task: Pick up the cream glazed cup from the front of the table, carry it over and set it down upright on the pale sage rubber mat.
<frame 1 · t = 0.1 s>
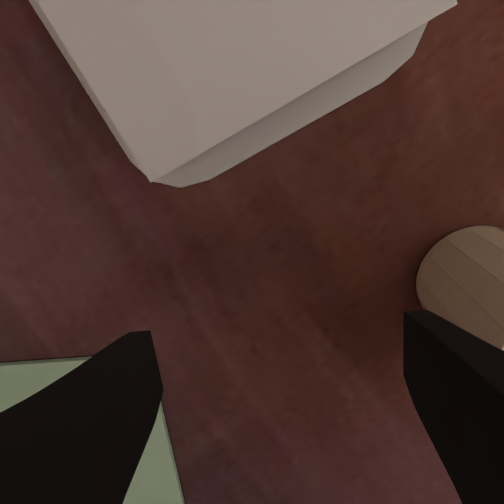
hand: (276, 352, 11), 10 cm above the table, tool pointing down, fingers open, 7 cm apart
mat: (79, 437, 26), on the table
cup: (473, 279, 21), on the table
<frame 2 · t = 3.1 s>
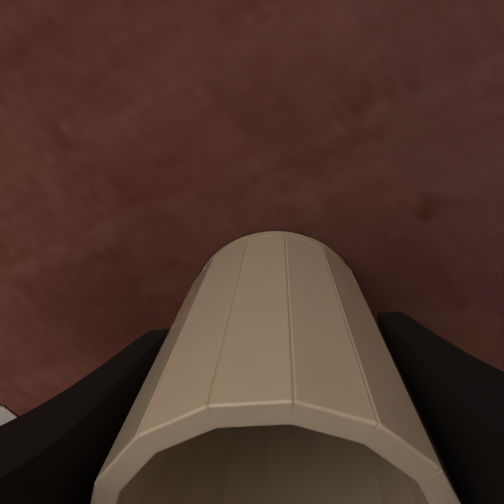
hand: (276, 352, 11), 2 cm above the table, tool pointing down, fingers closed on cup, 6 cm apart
cup: (275, 312, 14), on the table, touching gripper
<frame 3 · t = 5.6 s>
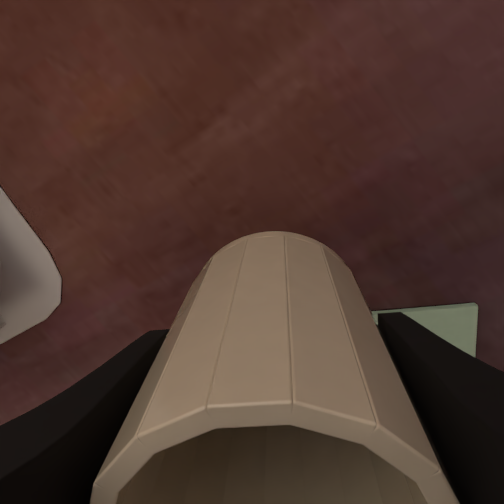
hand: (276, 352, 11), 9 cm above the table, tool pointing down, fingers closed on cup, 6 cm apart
mat: (360, 405, 23), on the table
cup: (275, 312, 14), point 7 cm above the table, touching gripper
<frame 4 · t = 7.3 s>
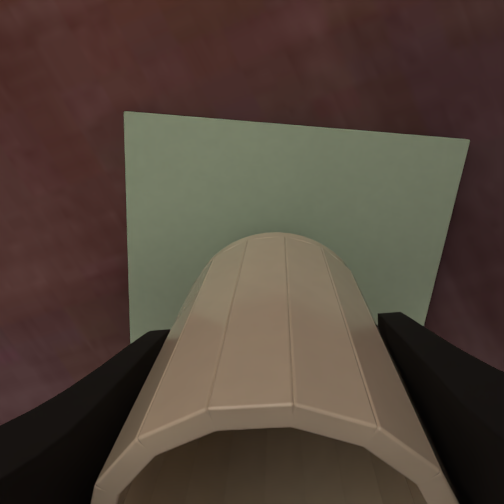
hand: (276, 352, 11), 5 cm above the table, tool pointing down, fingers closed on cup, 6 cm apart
mat: (277, 280, 16), on the table
cup: (275, 313, 14), point 3 cm above the table, touching gripper
when the fingers open (3 cm above the table, at t = 8.6 s): cup stays where it is, resting on mat.
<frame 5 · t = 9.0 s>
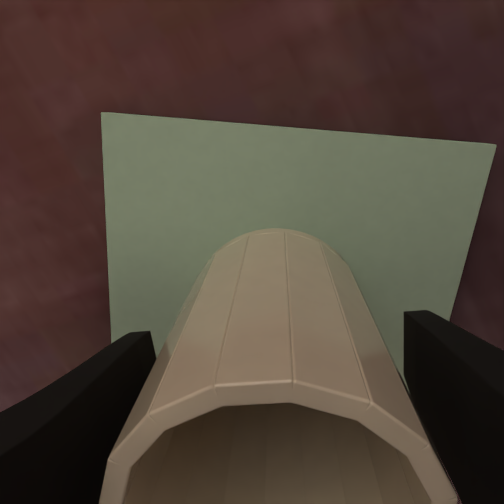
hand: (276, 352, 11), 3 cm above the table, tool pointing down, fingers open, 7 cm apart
mat: (276, 301, 15), on the table
cup: (275, 307, 14), resting on mat
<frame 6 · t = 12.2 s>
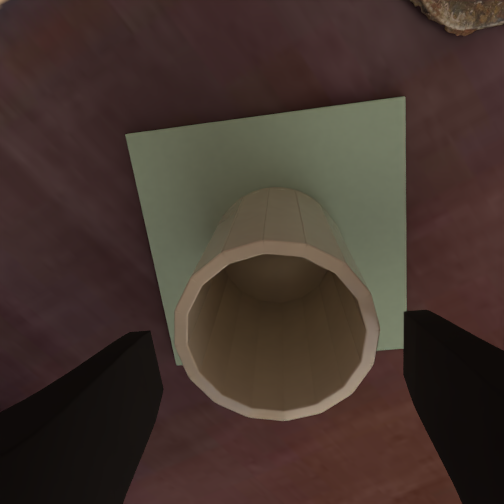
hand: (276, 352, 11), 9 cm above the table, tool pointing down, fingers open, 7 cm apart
mat: (275, 246, 19), on the table
cup: (276, 248, 19), resting on mat
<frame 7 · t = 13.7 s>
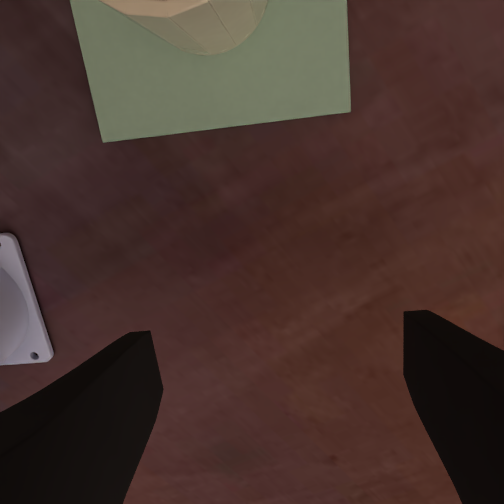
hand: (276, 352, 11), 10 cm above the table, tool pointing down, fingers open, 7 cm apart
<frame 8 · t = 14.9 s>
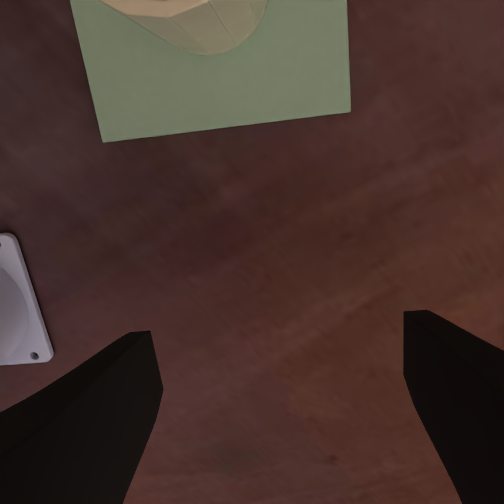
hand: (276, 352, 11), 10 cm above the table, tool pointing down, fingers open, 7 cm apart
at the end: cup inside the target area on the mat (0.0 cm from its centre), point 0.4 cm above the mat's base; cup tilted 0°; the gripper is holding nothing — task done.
